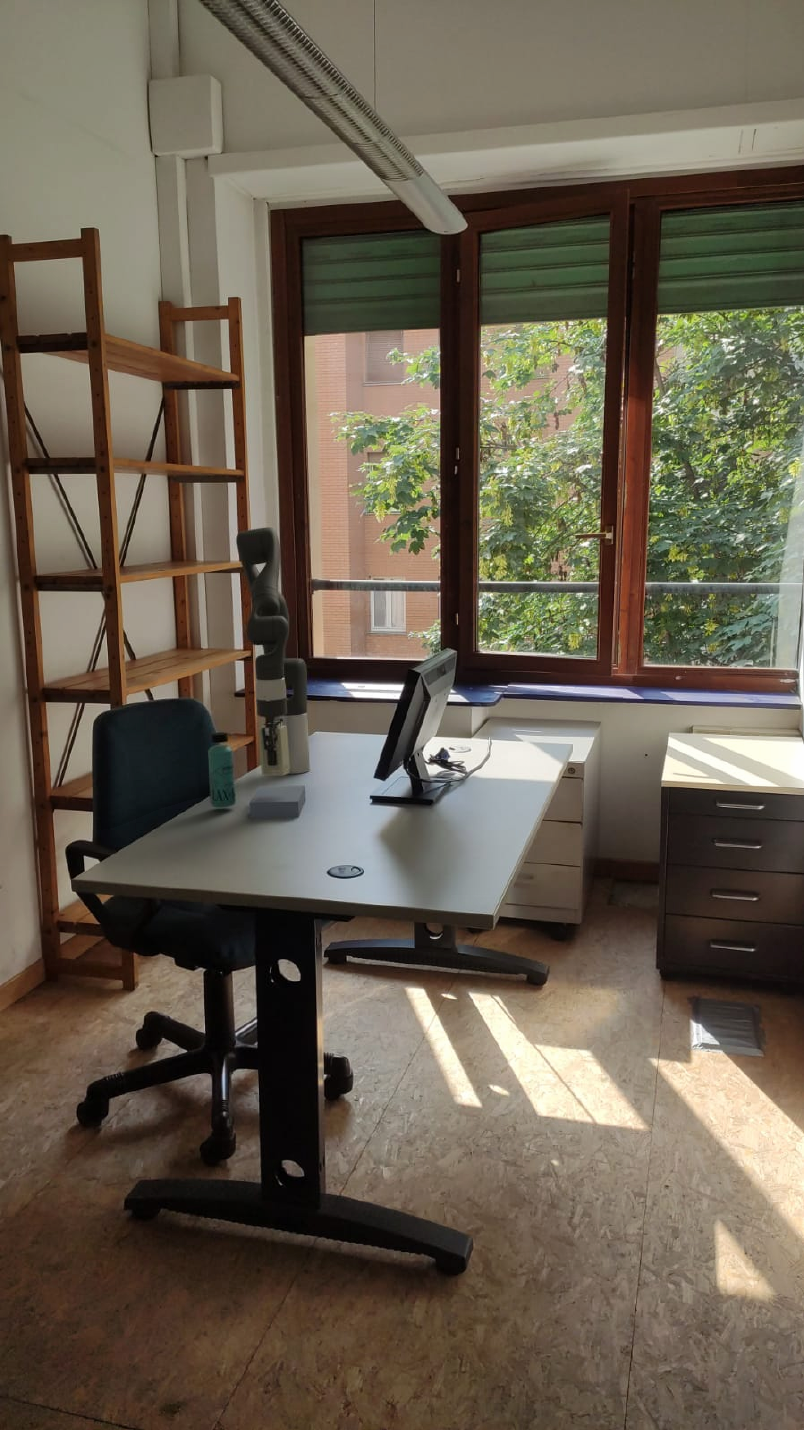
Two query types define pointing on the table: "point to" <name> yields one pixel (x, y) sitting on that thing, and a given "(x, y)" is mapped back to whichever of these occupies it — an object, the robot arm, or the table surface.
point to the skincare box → (281, 751)
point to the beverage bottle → (221, 772)
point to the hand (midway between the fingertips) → (274, 762)
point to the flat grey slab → (277, 802)
